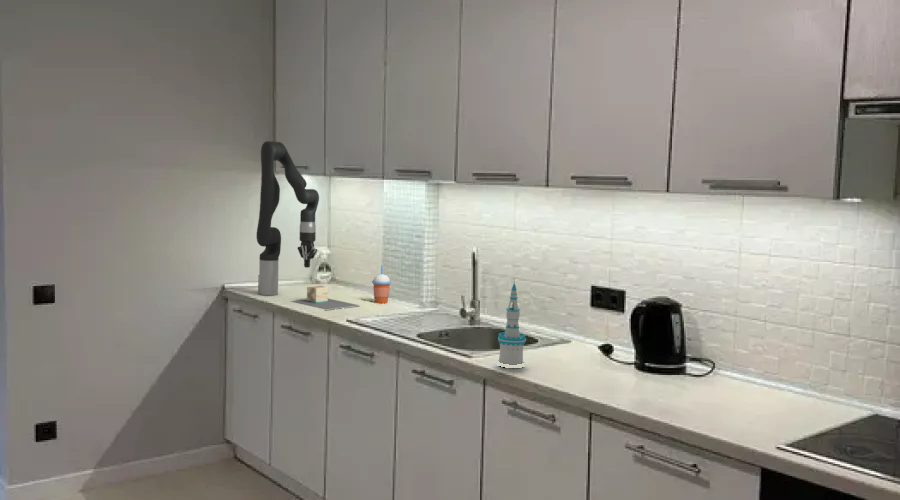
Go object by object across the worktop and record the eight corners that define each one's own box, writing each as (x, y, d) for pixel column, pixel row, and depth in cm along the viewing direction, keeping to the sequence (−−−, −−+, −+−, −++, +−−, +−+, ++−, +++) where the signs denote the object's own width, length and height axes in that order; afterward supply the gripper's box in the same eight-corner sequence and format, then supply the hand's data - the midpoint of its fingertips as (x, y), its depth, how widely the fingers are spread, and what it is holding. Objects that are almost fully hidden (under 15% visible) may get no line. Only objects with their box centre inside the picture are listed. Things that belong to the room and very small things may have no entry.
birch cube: (306, 301, 407) (307, 286, 406) (318, 300, 412) (319, 285, 411) (316, 303, 402) (316, 288, 401) (327, 302, 407) (328, 287, 406)
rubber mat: (289, 302, 405) (289, 301, 405) (323, 298, 420) (323, 297, 420) (325, 310, 387) (325, 309, 387) (359, 306, 401) (359, 305, 401)
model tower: (508, 370, 287) (511, 280, 284) (490, 363, 295) (493, 276, 292) (531, 367, 293) (535, 279, 290) (513, 360, 301) (516, 275, 298)
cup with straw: (382, 304, 409) (383, 267, 407) (367, 302, 414) (368, 265, 412) (394, 302, 416) (395, 265, 414) (379, 300, 421) (380, 263, 419)
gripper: (292, 230, 411) (292, 266, 413) (309, 232, 402) (309, 269, 404) (305, 229, 417) (305, 265, 418) (322, 232, 408) (321, 268, 409)
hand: (307, 267), depth 411 cm, fingers closed
